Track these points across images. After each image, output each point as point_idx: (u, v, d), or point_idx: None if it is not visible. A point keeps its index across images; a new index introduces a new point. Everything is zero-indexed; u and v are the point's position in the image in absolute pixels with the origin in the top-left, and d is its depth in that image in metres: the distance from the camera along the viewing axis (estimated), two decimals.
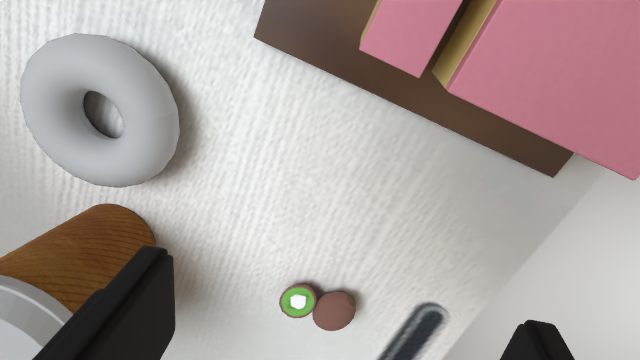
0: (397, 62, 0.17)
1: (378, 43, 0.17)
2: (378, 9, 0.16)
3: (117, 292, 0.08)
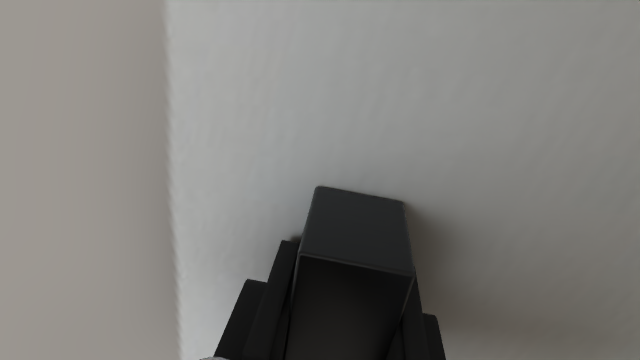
0: None
1: None
2: None
3: (280, 281, 0.09)
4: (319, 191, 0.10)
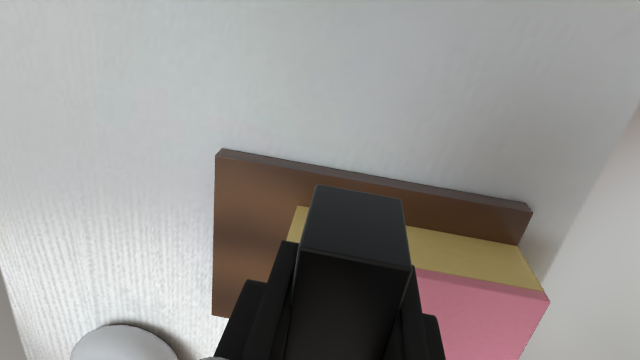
0: None
1: None
2: None
3: (281, 281, 0.09)
4: (319, 189, 0.10)
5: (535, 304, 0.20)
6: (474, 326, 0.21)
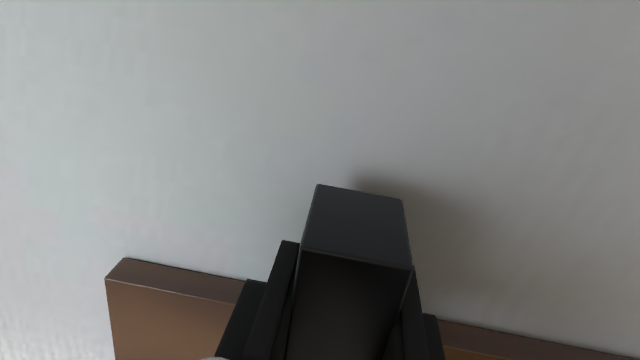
0: None
1: None
2: None
3: (281, 281, 0.09)
4: (320, 188, 0.10)
5: None
6: None
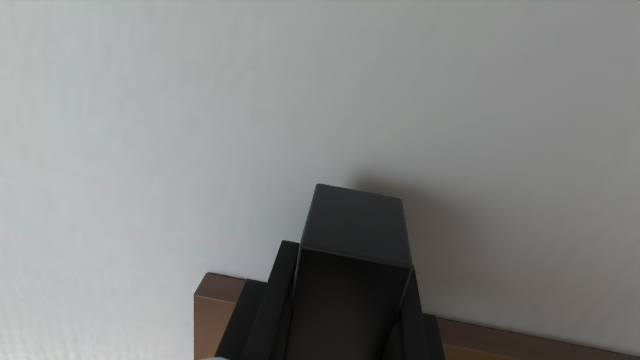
0: None
1: None
2: None
3: (281, 281, 0.09)
4: (320, 188, 0.10)
5: None
6: None
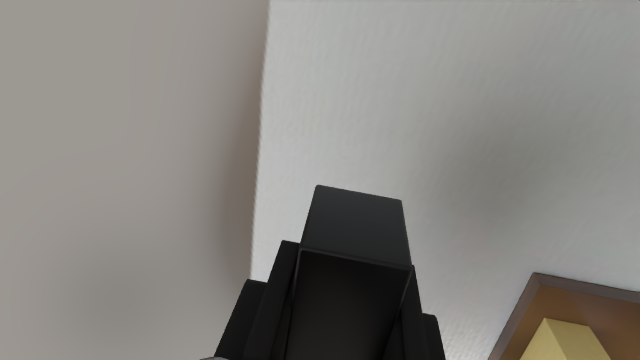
0: None
1: None
2: None
3: (281, 281, 0.09)
4: (320, 189, 0.10)
5: None
6: None
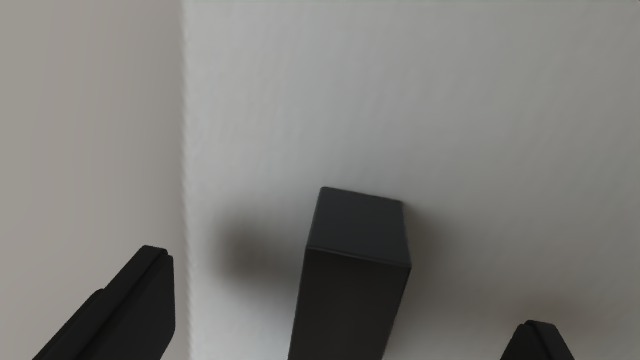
0: None
1: None
2: None
3: (117, 292, 0.08)
4: (324, 191, 0.11)
5: None
6: None
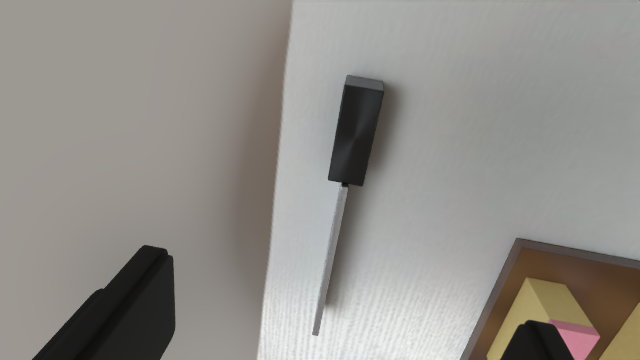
0: None
1: None
2: None
3: (117, 292, 0.08)
4: (348, 76, 0.25)
5: None
6: None
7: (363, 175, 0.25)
